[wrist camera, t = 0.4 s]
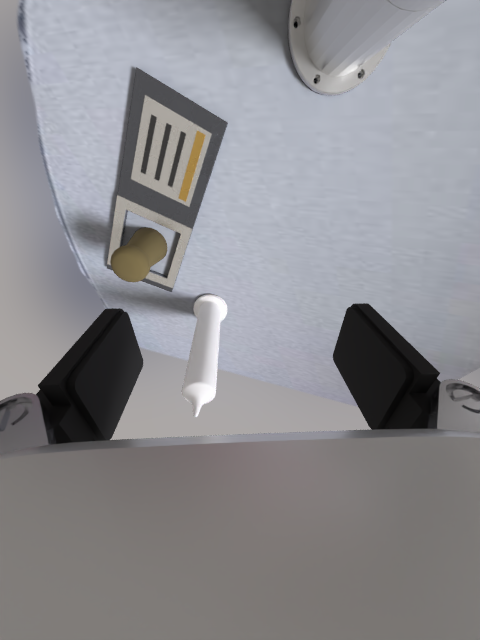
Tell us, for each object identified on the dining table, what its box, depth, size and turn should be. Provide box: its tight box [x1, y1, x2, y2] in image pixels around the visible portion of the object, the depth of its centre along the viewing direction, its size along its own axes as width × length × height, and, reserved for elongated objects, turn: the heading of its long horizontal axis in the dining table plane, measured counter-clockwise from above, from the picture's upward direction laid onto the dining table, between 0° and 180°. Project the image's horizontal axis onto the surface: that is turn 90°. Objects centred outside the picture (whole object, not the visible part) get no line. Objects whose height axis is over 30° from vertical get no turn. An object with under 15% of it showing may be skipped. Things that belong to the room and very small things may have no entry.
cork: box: [110, 227, 167, 282], centre depth 36 cm, size 6×6×11 cm
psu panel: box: [107, 68, 228, 292], centre depth 36 cm, size 28×12×1 cm, turn 155°
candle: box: [182, 294, 227, 417], centre depth 38 cm, size 7×7×25 cm
